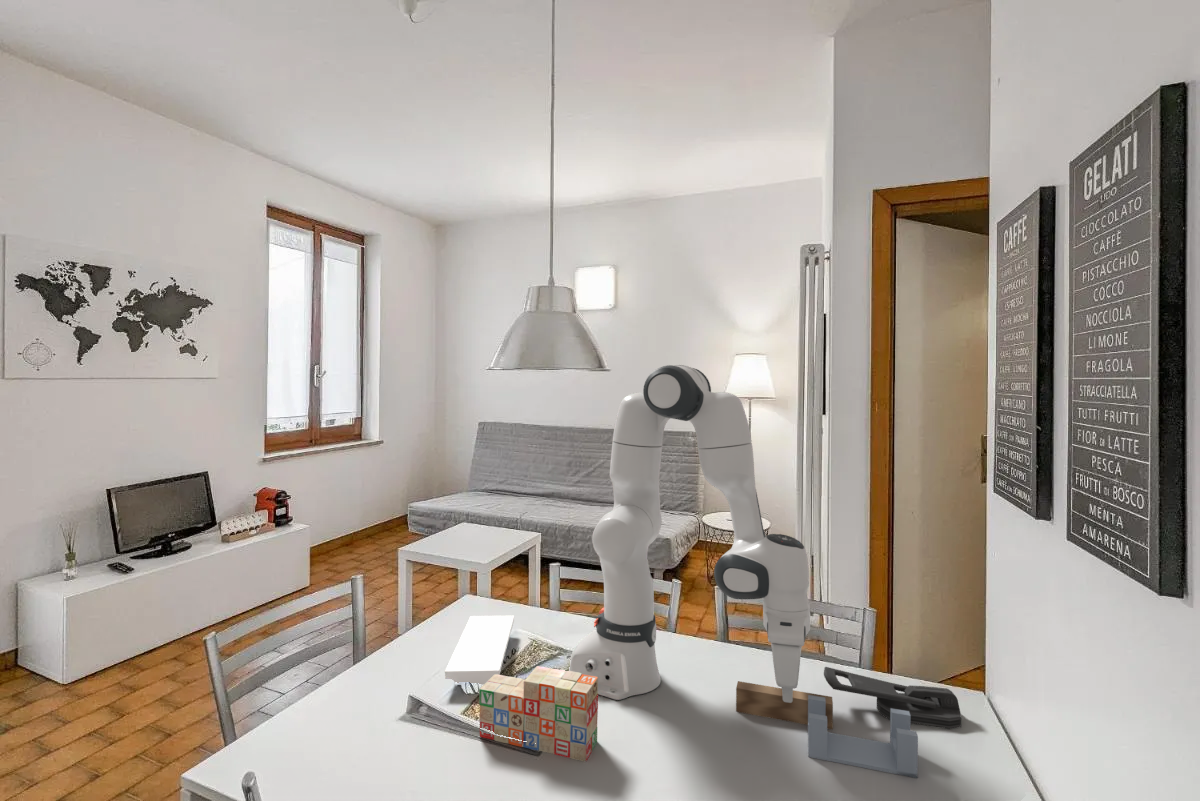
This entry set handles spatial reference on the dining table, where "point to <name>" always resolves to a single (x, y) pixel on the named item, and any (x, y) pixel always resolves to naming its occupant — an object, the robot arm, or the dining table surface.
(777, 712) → the rail
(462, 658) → the shelf
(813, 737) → the grey cradle stand
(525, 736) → the stack of blocks
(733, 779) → the dining table surface
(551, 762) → the dining table surface
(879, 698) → the zipper pull
